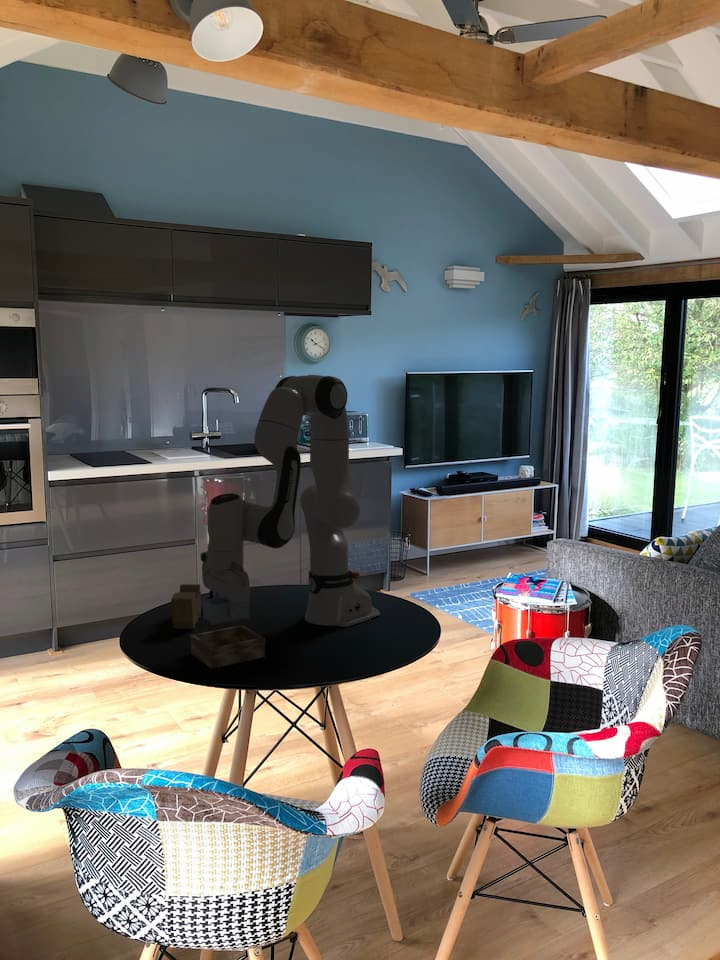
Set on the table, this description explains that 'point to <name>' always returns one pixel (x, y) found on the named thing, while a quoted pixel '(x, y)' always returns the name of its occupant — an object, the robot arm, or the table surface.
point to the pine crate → (227, 646)
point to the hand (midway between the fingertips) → (226, 612)
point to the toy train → (186, 606)
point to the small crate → (222, 611)
